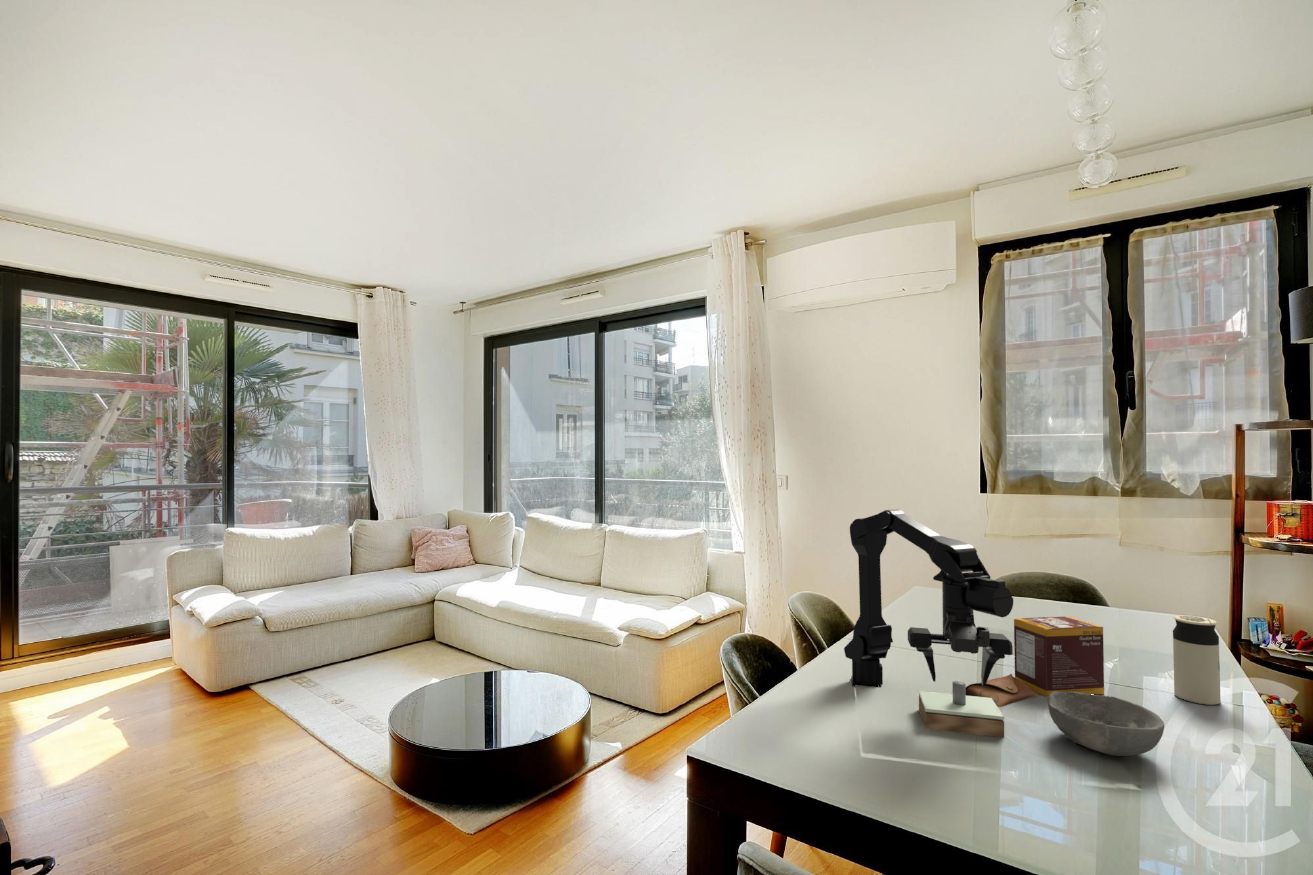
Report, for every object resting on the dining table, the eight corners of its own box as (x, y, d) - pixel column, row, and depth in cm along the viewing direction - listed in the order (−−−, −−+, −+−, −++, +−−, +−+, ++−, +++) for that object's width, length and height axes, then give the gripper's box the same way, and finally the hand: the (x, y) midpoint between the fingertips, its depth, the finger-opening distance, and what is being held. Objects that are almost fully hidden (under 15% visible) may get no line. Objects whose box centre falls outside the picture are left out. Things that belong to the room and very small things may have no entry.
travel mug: (1173, 699, 143) (1171, 619, 143) (1175, 690, 148) (1173, 613, 149) (1220, 708, 137) (1217, 625, 138) (1221, 698, 143) (1218, 618, 144)
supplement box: (1105, 694, 145) (1104, 626, 146) (1046, 698, 143) (1045, 628, 144) (1069, 679, 156) (1068, 615, 156) (1013, 682, 153) (1012, 617, 154)
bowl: (1172, 783, 105) (1171, 734, 105) (1048, 756, 114) (1047, 712, 115) (1157, 743, 120) (1156, 700, 121) (1048, 722, 130) (1047, 682, 130)
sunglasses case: (999, 712, 134) (983, 679, 138) (972, 719, 140) (958, 688, 143) (1045, 696, 144) (1029, 667, 147) (1018, 704, 149) (1004, 675, 152)
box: (925, 731, 125) (925, 713, 125) (919, 712, 134) (918, 695, 134) (1004, 740, 121) (1004, 721, 121) (991, 719, 131) (991, 702, 131)
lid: (925, 711, 125) (925, 688, 125) (918, 693, 134) (918, 671, 135) (1004, 719, 121) (1003, 695, 121) (991, 700, 131) (990, 678, 131)
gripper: (913, 611, 123) (914, 692, 123) (1020, 618, 118) (1021, 703, 118) (907, 599, 134) (907, 673, 133) (1004, 605, 129) (1005, 682, 129)
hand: (958, 683), depth 128 cm, fingers open, 9 cm apart
